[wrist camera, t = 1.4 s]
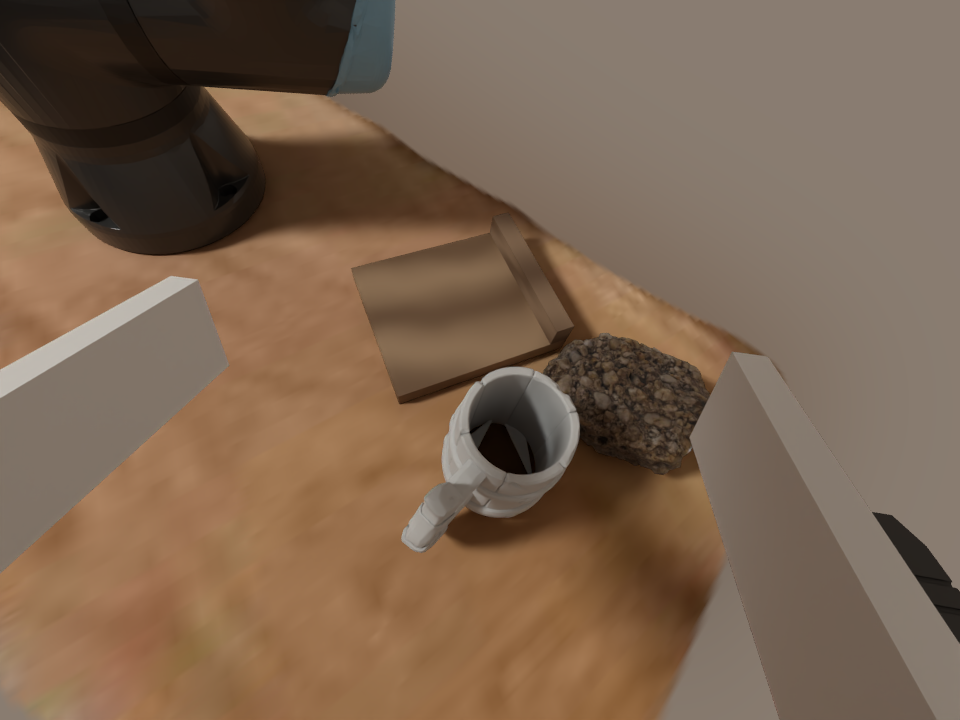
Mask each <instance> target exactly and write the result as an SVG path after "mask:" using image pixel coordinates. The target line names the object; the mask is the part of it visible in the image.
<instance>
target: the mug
mask: <svg viewBox="0 0 960 720" xmlns="http://www.w3.org/2000/svg"><path fill="white" fill-rule="evenodd" d="M491 423H498V424H501V425H505V426H506V428H507V431H508V433H509V435H510V437H511V439H512V441H513V443H514V445H515V447H516V450H517V452H518V454H519V456H520V458H521V460H522V462H523V464H524V466H525V469H526V471H527V473H528V475H518V474H511V473H506V472H504V471H502V470H501V469H499V468H497V467H495V466H494V465H492V464H491V463H490V462H488V461H487V460H486V459H485V458H484V457H483V456H482V454H481V453H480V452H479V451H478V447H479V445H480V443H481V441H482V439H483V437H484V435H485V433H486V431H487V429H488V428H489V426H490V424H491ZM483 424H484V425H483ZM480 425H482V426H481V427H480V428H479V429H477V430H476V431H475V432H474V433H472V434H470V430H472V429H473V428H475V427H477V426H480ZM449 426H450V428H449V433H448V434H447V435H446V436H445V438H444V446H443V450H442V468H443V473H444V477H445V480H446V483H442V484H439V485H437V486H435V487H434V488H432V489H431V490H430V491H429V492H428V493H427V494H426V495H425V497H424V501H425V502H424V503H422V504H421V505H420V506H419V508H418V510H417V511H416V513H415V514H414V516H413V517H412V518H411V519H410V521H409V524H408V525H407V526H406V528H405V529H404V530H403V533H402V538H401V539H402V542H403V543H404V544H406V545H407V546H408V547H409V548H411V549H412V550H413V551H416V552H420V553H423V552H426V551H427V550H428V549H429V548H431V547H432V546H433V545H434V544H435V543H436V542H437V541H438V540H439V539H440V537H441V536H442V535H443V534H444V533H445V532H446V530H447V527H448V524H449V523H450V522H451V521H452V520H453V519H454V518H455V516H456V515H457V514H458V513H459V512H460V511H461V510H462V509H463V508H464V506H466V507H467V508H468V509H470V510H472V511H474V512H476V513H478V514H481V515H484V516H488V517H495V518H502V517H506V518H510V517H513V516H515V515H517V514H520V513H522V512H524V511H526V510H528V509H529V508H530V507H532V506H533V505H534V504H535V503H536V502H537V501H539V500H540V498H541V497H542V496H543V494H544V493H546V492H547V491H548V490H550V489H551V488H552V487H553V486H554V485H555V484H556V483H557V482H558V481H559V479H560V478H561V477H562V475H563V473H564V472H565V470H566V467H567V466H568V465H569V463H570V462H571V460H572V458H573V456H574V453H575V451H576V448H577V445H578V441H579V436H580V422H579V416H578V413H577V412H576V408H575V406H574V404H573V402H572V400H571V398H570V396H569V395H567V394H564V393H563V392H562V391H561V390H560V387H559V385H558V384H557V383H555V382H554V381H553V380H552V379H550V378H549V377H548V376H546V375H544V374H542V373H540V372H537V371H535V372H534V370H533V369H530V368H525V367H507V368H501V369H498V370H495V371H492V372H490V373H488V374H487V375H486V376H485V377H484V378H483V379H482V380H481V382H479V381H477V382H476V383H475V384H474V385H473V386H472V387H471V388H470V390H469V391H468V392H467V394H466V396H465V398H464V400H463V401H462V402H461V404H460V405H459V406H458V408H457V409H456V411H455V414H453V415H452V417H451V420H450V423H449ZM527 442H528V443H529V445H530V447H531V450H532V453H533V454H534V460H535V473H534V474H532V470H531V464H530V458H529V452H528V446H527Z"/></svg>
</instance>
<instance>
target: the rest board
mask: <svg viewBox="0 0 960 720" xmlns="http://www.w3.org/2000/svg"><path fill="white" fill-rule="evenodd" d="M351 269H352V273H353V277H354V280H355V283H356V286H357V289H358V291H359V294H360V297H361V300H362V302H363V305H364V308H365V311H366V314H367V316H368V319H369V322H370V325H371V327H372V330H373V333H374V336H375V338H376V341H377V344H378V347H379V349H380V352H381V355H382V358H383V360H384V363H385V366H386V369H387V371H388V374H389V377H390V380H391V382H392V385H393V388H394V391H395V393H396V396H397V399H398V402H399V404H401V403H404V402H407V401H409V400H412V399H415V398H418V397H421V396H424V395H427V394H429V393H432V392H435V391H438V390H441V389H444V388H447V387H450V386H452V385H455V384H458V383H461V382H464V381H467V380H470V379H472V378H475V377H478V376H481V375H484V374H487V373H490V372H492V371H495V370H498V369H501V368H504V367H507V366H510V365H513V364H515V363H518V362H521V361H524V360H527V359H530V358H533V357H535V356H538V355H541V354H544V353H547V352H550V351H553V350H555V349H558V348H561V347H562V346H563V344H564V342H565V341H566V339H567V337H568V336H569V334H570V332H571V331H572V329H573V327H574V325H573V323H572V321H571V320H570V318H569V316H568V315H567V313H566V311H565V309H564V308H563V306H562V304H561V302H560V301H559V299H558V297H557V295H556V294H555V292H554V290H553V289H552V287H551V285H550V283H549V282H548V280H547V278H546V276H545V275H544V273H543V271H542V269H541V268H540V266H539V264H538V263H537V261H536V259H535V257H534V256H533V254H532V252H531V250H530V249H529V247H528V245H527V243H526V242H525V240H524V238H523V237H522V235H521V233H520V231H519V230H518V228H517V226H516V224H515V223H514V221H513V219H512V217H511V216H510V214H509V213H505V214H501V215H497V216H493V219H492V224H491V230H490V233H488V234H484V235H480V236H476V237H472V238H468V239H464V240H460V241H456V242H452V243H448V244H444V245H440V246H437V247H433V248H429V249H425V250H421V251H417V252H413V253H409V254H405V255H401V256H397V257H393V258H390V259H386V260H382V261H378V262H374V263H370V264H366V265H362V266H358V267H354V268H351Z"/></svg>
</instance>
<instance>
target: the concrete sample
mask: <svg viewBox="0 0 960 720" xmlns="http://www.w3.org/2000/svg"><path fill="white" fill-rule="evenodd" d="M543 374H544V375H546V376H548V377H549V378H550V379H552V380H553V381H554V382H555V383H557V384H558V385H559V387H560V390H561V391H562V392H563V393H564V394H567V395H569V396H570V398H571V400H572V402H573V404H574V406H575V408H576V412H577V413H578V416H579V422H580V436H579V437H580V438H581V439H582V440H583V441H585V443H586V444H587V445H592V446H593V448H594V449H595V450H596V452H598V453H601V454H604V455H609V456H611V457H617V458H618V459H623V460H626V461H628V462H629V463H631V464H633V465H635V466H637V465H640V466H642V467H646V468H649V469H651V470H652V471H653V472H654V473H655V474H661V475H664V474H666V473H668V471H669V470H672V469H675V468H679V467H680V466H681V460H682V457H683V456H685V455H687V454H688V453H689V452H690V451H691V449H692V444H691V440H690V435H691V433H692V431H693V429H694V427H695V425H696V423H697V421H698V419H699V417H700V415H701V413H702V411H703V409H704V407H705V405H706V403H707V401H708V399H709V397H710V396H709V394H710V393H709V392H708V391H707V390H706V388H705V385H704V382H703V380H702V378H701V373H700V371H699V370H698V369H697V368H696V367H695V366H692V365H690V364H689V363H688V362H685V361H682V360H679V359H677V358H675V357H673V356H670V355H667V354H663V353H662V352H660V351H659V350H657V349H656V348H649V347H647V346H646V345H644V344H642V343H641V344H639V343H638V341H635V340H632V339H629V338H617V337H613V336H611V335H610V334H609V333H600V335H599V337H597V338H593V339H589V340H587V339H586V340H584V341H582V340H574V341H572V342H571V343H569V344H568V345H566V346H565V347H564V349H563V350H562V351H561V352H560V354H559V355H558V357H557V358H556V359H553V360H551V361H550V362H549V363H548V366H547V367H546V368H545V369H544V372H543Z"/></svg>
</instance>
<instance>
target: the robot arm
mask: <svg viewBox="0 0 960 720" xmlns="http://www.w3.org/2000/svg"><path fill="white" fill-rule="evenodd" d="M394 21H395V0H0V101H1V102H2V103H3V104H4V105H5V106H6V107H7V108H8V109H9V110H10V111H11V112H12V113H13V115H14V116H15V117H16V118H17V119H18V120H19V121H20V122H21V123H22V124H23V125H24V127H25V128H26V129H27V130H28V131H29V132H30V133H31V135H32V136H33V138H34V140H35V142H36V144H37V146H38V148H39V151H40V153H41V155H42V157H43V159H44V161H45V163H46V166H47V168H48V170H49V172H50V174H51V176H52V178H53V181H54V183H55V185H56V187H57V189H58V191H59V193H60V195H61V198H62V200H63V202H64V203H65V205H66V206H67V208H68V209H69V210H70V212H71V213H72V214H73V215H74V216H75V217H76V218H77V219H78V220H79V221H80V222H81V223H82V224H83V225H84V226H85V227H86V228H87V229H88V230H89V231H90V232H91V233H92V234H93V235H94V236H96V237H97V238H98V239H100V240H101V241H103V242H105V243H107V244H109V245H111V246H113V247H116V248H119V249H122V250H125V251H130V252H135V253H143V254H168V253H177V252H183V251H188V250H192V249H196V248H199V247H202V246H205V245H208V244H210V243H212V242H215V241H217V240H219V239H221V238H223V237H225V236H227V235H228V234H230V233H231V232H233V231H234V230H236V229H237V228H239V227H240V226H241V225H242V224H243V223H244V222H245V221H247V220H248V219H249V217H250V216H251V215H252V214H253V213H254V211H255V210H256V209H257V207H258V205H259V204H260V202H261V199H262V197H263V194H264V190H265V174H264V170H263V168H262V165H261V163H260V160H259V158H258V156H257V153H256V151H255V149H254V147H253V145H252V144H251V142H250V140H249V139H248V138H247V136H246V135H245V134H244V133H243V132H242V130H241V129H240V128H239V127H238V126H237V125H236V124H235V122H234V121H233V120H232V119H231V118H230V117H229V115H228V114H227V113H226V112H225V111H224V110H223V109H222V107H221V106H220V105H219V104H218V103H217V102H216V100H215V99H214V98H213V97H212V96H211V95H210V94H209V92H208V91H207V90H206V89H205V88H204V87H217V88H231V89H245V90H259V91H273V92H287V93H301V94H315V95H325V96H328V97H333V96H336V95H337V94H355V93H356V94H357V93H372V92H375V91H377V90H379V89H380V88H382V87H383V86H384V84H385V83H386V81H387V79H388V77H389V74H390V70H391V62H392V53H393V52H392V51H393V39H394ZM228 366H229V363H228V360H227V358H226V355H225V352H224V350H223V347H222V344H221V341H220V339H219V336H218V333H217V330H216V328H215V325H214V322H213V319H212V317H211V314H210V311H209V308H208V306H207V303H206V300H205V297H204V295H203V292H202V289H201V287H200V284H199V281H198V280H197V279H190V278H182V277H175V276H170V277H168V278H166V279H164V280H163V281H161V282H159V283H157V284H155V285H154V286H152V287H150V288H148V289H146V290H144V291H143V292H141V293H139V294H137V295H135V296H134V297H132V298H130V299H128V300H126V301H124V302H123V303H121V304H119V305H117V306H115V307H114V308H112V309H110V310H108V311H106V312H104V313H103V314H101V315H99V316H97V317H95V318H93V319H92V320H90V321H88V322H86V323H84V324H83V325H81V326H79V327H77V328H75V329H73V330H72V331H70V332H68V333H66V334H64V335H63V336H61V337H59V338H57V339H55V340H53V341H52V342H50V343H48V344H46V345H44V346H43V347H41V348H39V349H37V350H35V351H33V352H32V353H30V354H28V355H26V356H24V357H23V358H21V359H19V360H17V361H15V362H13V363H12V364H10V365H8V366H6V367H4V368H2V369H1V370H0V573H1V572H2V571H3V570H4V569H6V568H7V567H8V566H9V565H10V564H11V563H12V562H13V561H14V560H16V559H17V558H18V557H19V556H20V555H21V554H22V553H23V552H24V551H25V550H27V549H28V548H29V547H30V546H31V545H32V544H33V543H34V542H35V541H36V540H38V539H39V538H40V537H41V536H42V535H43V534H44V533H45V532H46V531H47V530H49V529H50V528H51V527H52V526H53V525H54V524H55V523H56V522H57V521H58V520H60V519H61V518H62V517H63V516H64V515H65V514H66V513H67V512H68V511H69V510H71V509H72V508H73V507H74V506H75V505H76V504H77V503H78V502H79V501H80V500H82V499H83V498H84V497H85V496H86V495H87V494H88V493H89V492H90V491H92V490H93V489H94V488H95V487H96V486H97V485H98V484H99V483H100V482H101V481H103V480H104V479H105V478H106V477H107V476H108V475H109V474H110V473H111V472H112V471H114V470H115V469H116V468H117V467H118V466H119V465H120V464H121V463H122V462H123V461H125V460H126V459H127V458H128V457H129V456H130V455H131V454H132V453H133V452H134V451H136V450H137V449H138V448H139V447H140V446H141V445H142V444H143V443H144V442H145V441H147V440H148V439H149V438H150V437H151V436H152V435H153V434H154V433H155V432H157V431H158V430H159V429H160V428H161V427H162V426H163V425H164V424H165V423H166V422H168V421H169V420H170V419H171V418H172V417H173V416H174V415H175V414H176V413H177V412H179V411H180V410H181V409H182V408H183V407H184V406H185V405H186V404H187V403H188V402H190V401H191V400H192V399H193V398H194V397H195V396H196V395H197V394H198V393H199V392H201V391H202V390H203V389H204V388H205V387H206V386H207V385H208V384H209V383H210V382H212V381H213V380H214V379H215V378H216V377H217V376H218V375H219V374H220V373H221V372H223V371H224V370H225V369H226V368H227V367H228ZM690 440H691V444H692V447H693V450H694V453H695V456H696V459H697V462H698V465H699V469H700V472H701V475H702V478H703V481H704V484H705V487H706V491H707V494H708V497H709V500H710V503H711V506H712V509H713V513H714V516H715V519H716V522H717V525H718V528H719V531H720V534H721V538H722V541H723V544H724V547H725V550H726V553H727V556H728V560H729V563H730V566H731V569H732V572H733V575H734V578H735V581H736V585H737V587H738V591H739V594H740V597H741V600H742V603H743V607H744V609H745V613H746V616H747V619H748V622H749V625H750V628H751V632H752V635H753V638H754V641H755V644H756V647H757V650H758V653H759V657H760V660H761V663H762V666H763V669H764V672H765V675H766V679H767V682H768V685H769V688H770V691H771V694H772V697H773V701H774V704H775V707H776V710H777V713H778V716H779V719H780V720H960V591H959V590H958V589H957V588H953V587H952V585H951V582H952V581H951V579H950V578H949V576H948V575H947V574H946V572H945V571H944V570H943V568H942V567H941V566H940V564H939V563H938V561H937V560H936V559H935V557H934V556H933V555H932V553H931V552H930V551H929V549H928V548H927V546H925V545H924V544H923V543H922V542H921V541H920V540H919V539H918V538H917V537H915V536H914V535H913V534H912V533H911V532H910V531H909V530H908V529H906V528H905V527H904V526H903V525H902V524H901V523H900V522H899V521H898V520H896V519H895V518H894V517H893V516H892V515H887V514H881V513H874V512H871V510H870V509H869V507H868V506H867V504H866V503H865V501H864V500H863V498H862V497H861V495H860V494H859V492H858V491H857V489H856V488H855V486H854V485H853V483H852V482H851V481H850V479H849V478H848V476H847V474H846V473H845V471H844V470H843V468H842V467H841V465H840V464H839V462H838V461H837V459H836V458H835V456H834V455H833V453H832V452H831V450H830V449H829V448H828V446H827V444H826V443H825V441H824V440H823V438H822V437H821V436H820V434H819V432H818V431H817V429H816V428H815V427H814V425H813V423H812V422H811V420H810V419H809V417H808V416H807V414H806V413H805V412H804V410H803V409H802V407H801V406H800V404H799V403H798V401H797V400H796V398H795V396H794V395H793V393H792V392H791V390H790V389H789V387H788V386H787V384H786V383H785V381H784V380H783V378H782V377H781V375H780V374H779V372H778V371H777V369H776V368H775V366H774V365H773V363H772V362H771V360H770V359H769V357H768V356H760V355H753V354H745V353H738V352H732V353H731V355H730V357H729V359H728V361H727V363H726V365H725V367H724V369H723V371H722V373H721V375H720V377H719V379H718V381H717V383H716V385H715V387H714V389H713V391H712V393H711V395H710V397H709V399H708V401H707V403H706V405H705V407H704V409H703V411H702V413H701V415H700V417H699V419H698V421H697V423H696V425H695V427H694V429H693V431H692V433H691V435H690Z"/></svg>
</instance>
